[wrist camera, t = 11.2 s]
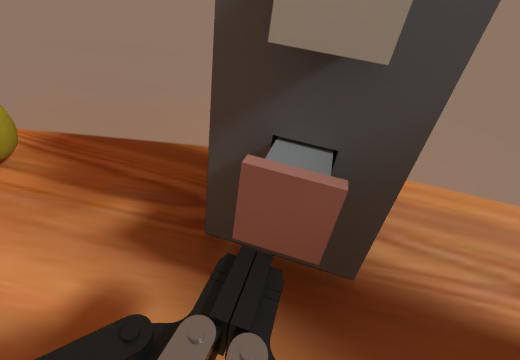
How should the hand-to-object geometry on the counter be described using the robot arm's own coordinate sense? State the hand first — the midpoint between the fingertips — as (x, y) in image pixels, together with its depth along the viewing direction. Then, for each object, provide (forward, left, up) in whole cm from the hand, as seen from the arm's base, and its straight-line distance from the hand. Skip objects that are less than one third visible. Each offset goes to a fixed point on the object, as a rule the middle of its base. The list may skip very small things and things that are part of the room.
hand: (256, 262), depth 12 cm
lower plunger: (+5, -6, -2) cm, 8 cm away
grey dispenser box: (+9, -12, -9) cm, 17 cm away
